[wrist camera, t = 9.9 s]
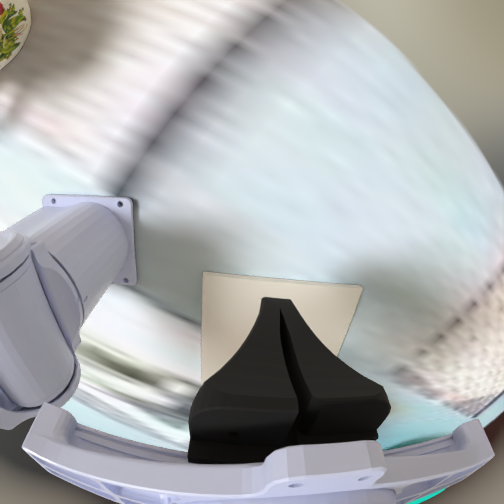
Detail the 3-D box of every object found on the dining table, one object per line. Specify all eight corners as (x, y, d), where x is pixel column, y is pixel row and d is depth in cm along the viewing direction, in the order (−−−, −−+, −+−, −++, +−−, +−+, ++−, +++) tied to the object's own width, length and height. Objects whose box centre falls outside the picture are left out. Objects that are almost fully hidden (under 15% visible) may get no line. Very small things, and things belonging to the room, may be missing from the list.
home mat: (202, 396, 32) (201, 400, 31) (203, 271, 24) (202, 274, 23) (313, 402, 33) (313, 405, 32) (360, 285, 25) (362, 288, 24)
